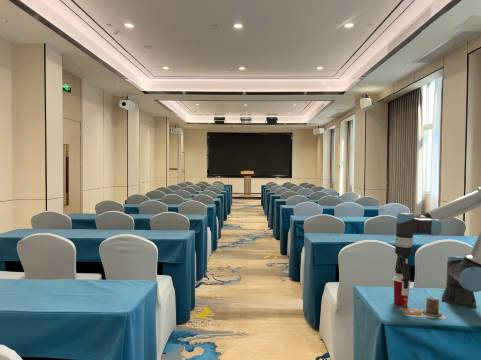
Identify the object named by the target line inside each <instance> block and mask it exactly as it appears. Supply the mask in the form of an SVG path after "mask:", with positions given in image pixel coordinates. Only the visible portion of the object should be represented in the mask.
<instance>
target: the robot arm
mask: <svg viewBox="0 0 481 360" xmlns="http://www.w3.org/2000/svg"><path fill="white" fill-rule="evenodd" d="M478 208H481V186H479V187H476V189H475V191H472V192H470V193H468V194H466V195H463V196H460V197H459V198H456V199H453V200H452V201H449V202H447V203H444V204H442V205H440V206H437V207H435V208H433V209H431V210H428V211H426V212H423V213H421V214H415V215H414V213H412V212H399V213H397V215H396V222H395V223H396V227H395V228H396V229H395V237H394V241H395V246H394V253H395V255H396V261H395V266H394V271H395V276H403V279H402V280H401V281H402V295H406V296H408V297H409V294H408V289H409V290H410V285H409V281H411V269H410V268H411V267H410V258H408V256H412V255H413V243H414V242H413V241H414V235H426V236H427V235H428V236H439V235H441V234H442V230H443V225H442V223H444V222H447V221H449V220H451V219H454V218H456V217H458V216H461V215H463V214H466V213H469V212H471V211H473V210H475V209H478ZM446 264H447V265H446V266H447V267H446V281H445V282H446V285H445V288H444V290H443V293H442V294H441V302H442V303H448V304H452V305H456V306H463V307H466V308H468V309H472V308H475V307H476V308H477V300H476V295H475V293H477V292H481V230H480V232H479V233H478V236H477V237H476V240H475V242H474V244H473V246H472V248H471V250H470V253H469V254H467V255H464V256H461V255H460V256H459V255H457V256H456V255H449V256H448V258H447V262H446Z"/></svg>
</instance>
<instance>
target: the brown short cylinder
mask: <svg viewBox="0 0 481 360" xmlns="http://www.w3.org/2000/svg"><path fill="white" fill-rule="evenodd" d="M425 307H426V308H425V310H426V313H429V314H433V315H437V314H438V311H439V309H440V300H439V298H436V297H427V298H426V306H425ZM439 312H440V311H439Z"/></svg>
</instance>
